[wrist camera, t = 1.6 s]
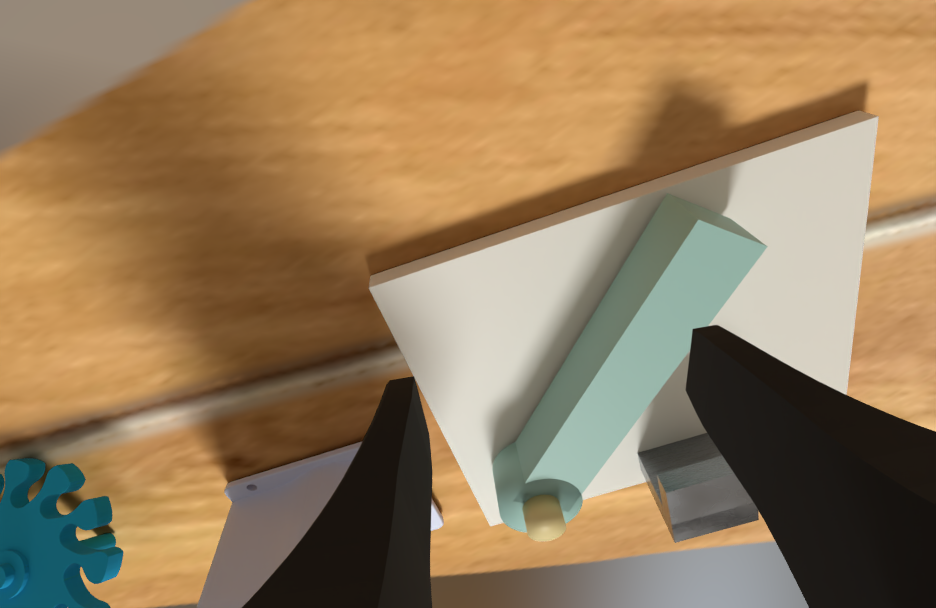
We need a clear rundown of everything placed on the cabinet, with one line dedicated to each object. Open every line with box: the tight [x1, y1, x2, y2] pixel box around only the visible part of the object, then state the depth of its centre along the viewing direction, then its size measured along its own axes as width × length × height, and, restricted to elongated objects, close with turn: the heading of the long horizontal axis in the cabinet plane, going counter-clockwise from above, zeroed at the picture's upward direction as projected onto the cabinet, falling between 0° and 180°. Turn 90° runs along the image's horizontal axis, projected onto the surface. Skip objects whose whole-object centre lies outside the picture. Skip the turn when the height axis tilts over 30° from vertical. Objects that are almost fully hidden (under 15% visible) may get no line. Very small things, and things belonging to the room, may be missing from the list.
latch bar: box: [492, 193, 768, 542], centre depth 22 cm, size 17×4×4 cm, turn 158°
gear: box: [0, 458, 123, 608], centre depth 26 cm, size 11×6×10 cm
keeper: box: [637, 433, 758, 543], centre depth 26 cm, size 4×4×5 cm
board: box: [369, 110, 879, 526], centre depth 25 cm, size 20×17×1 cm
